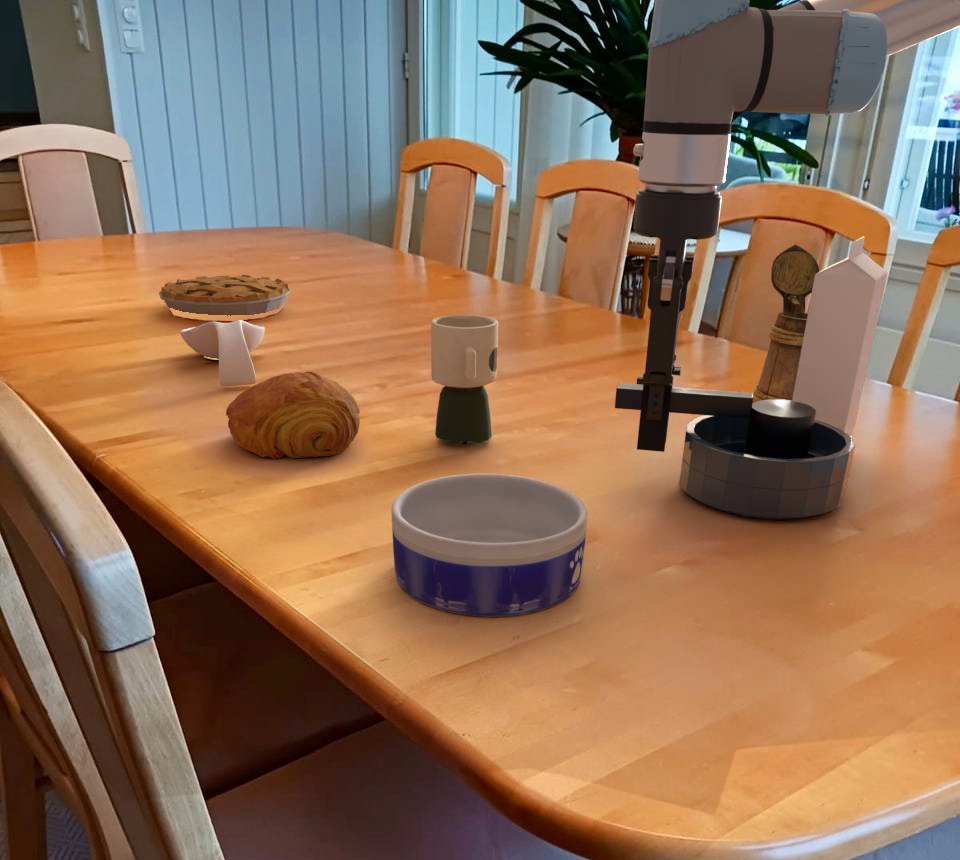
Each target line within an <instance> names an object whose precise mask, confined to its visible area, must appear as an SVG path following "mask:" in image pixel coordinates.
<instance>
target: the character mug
mask: <svg viewBox="0 0 960 860" xmlns="http://www.w3.org/2000/svg"><path fill="white" fill-rule="evenodd" d="M430 332H431V333H430V351H431V352H430V355H431V357H430V360H431V361H430V363H431V366H430V368H431V369H430V371H431V373H430V375H431V380H432V381H433V382H434V383H436V384H438V385H441V386H443V387H442V388H441V390H440V392H439V396H438V405H437V411H436V419H435V420H436V421H435V430H434V431H435V433H434V435H435V438H436V439H439V440H441V441H447V442H457V443H458V442H459V443H462V445H464V446H467V445H468V443H476V444H478V443H479V444H480V443H484V442H488V441H489V440H490V439H491V438H492V435H493V434H492V421H491V420H492V419H491V411H490V410H491V409H490V403H489V395H488V393H487V391H486V386H488V385H489V384H492V383H495V381H496V380H497V376H498V355H499V354H498V351H499V350H498V349H499V347H498V345H499V321H498V319H495V318H493V317H488V316H484V315H477V314H476V315H475V314H448V315H442V316H441V315H440V316H437V317H435V318H432V320H431V323H430Z"/></svg>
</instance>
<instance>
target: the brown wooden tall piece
mask: <svg viewBox="0 0 960 860" xmlns="http://www.w3.org/2000/svg"><path fill="white" fill-rule="evenodd" d="M771 265H772V266H771V275H770V277H771V279H770V280H771V284H772V287H773V288H774V289H775V290H776V291H777V293H778V294H780V295H781V297H782V312H781V311H780V312H778V314H777V317H776V319H775V323H774V324H772V326H771V329H770V330H769V334H768V339H770V342H769V345H768V350H767V354H766V357H765V361H764V363H763V366H762V370H761V374H760V377H759V381H758V384H756V385H755V387H754V389H753V390H754V391H753V403H754V402H757V401H761V400H771V399H777V400H789V401H792V399H793V394H794V388H795V383H796V377H797V372H798V366H799V361H800V355H801V350H802V344H803V339H804V333H805V328H806V322H807V316H808V312H806V297H808V296H809V295H810V294H812V289H813V283H814V278H815V274H816V273H818V272H820V267H819V263H818V262H817V260H816V258H815V257H814V256H813V254H811V252H809V251H807V250H806V249H804V248H803V247H801V246H800V245H797V244H794V245H792V246H789V247H788V248H786V249H784V250H783V251H781V252H780V253H779V254H778V255H777V256H776V257H775V258H774V259H773V261H772V264H771ZM753 403H752V404H753Z"/></svg>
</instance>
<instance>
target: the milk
mask: <svg viewBox="0 0 960 860" xmlns="http://www.w3.org/2000/svg"><path fill="white" fill-rule="evenodd" d="M865 239H866V237H865V236H862V237H860V238H857V239H855V240H853V241H852V242H851V245H850V249H849V255H848V257H846V258H844V259H842V260H839V261H838V262H836V263H833V264H831V265H829V266H827V267H826V268H824V269H821V270H819V272H818V273H816V274H815V278H814V283H813V289H812V293H810V294H811V295H810V301H809V306H808V311H807V313H808V316H807V322H806V328H805V333H804V339H803V344H802V350H801V355H800V361H799V366H798V372H797V377H796V383H795V388H794V394H793V399H792V401H795V402H800V403H804V404H807V405H809V406H811V407H813V408H814V409H815V410H816V415H815V420H817V421H821V422H824V423H827V424H829V425H832V426H834V427H837V428H839V429H841V430H843V431H844V432H846V433H847V434H848V435H850V436H851V437H852V438H853V436H854V431H855V428H856V427H855V426H856V422H857V417H858V413H859V408H860V404H861V399H862V395H863V389H864V386H865V385H864V384H865V380H866V376H867V370H868V367H869V361H870V358H871V353H872V349H873V343H874V339H875V334H876V329H877V325H878V321H879V315H880V311H881V306H882V302H883V298H884V292H885V288H886V283H887V279H888V273H889V272H888V271H887V270H886V269H885V268H883V267H882V266H881V265H879V264H878V263H876V261H874V260H873V259H872V258H871V257H870V256H868V255H867V254H865V253H864V252H863V250H864V244H865Z"/></svg>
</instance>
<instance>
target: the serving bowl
mask: <svg viewBox="0 0 960 860" xmlns="http://www.w3.org/2000/svg"><path fill="white" fill-rule="evenodd" d="M748 425H749V419H748V418H735V417H722V416H709V415H699V416H696V417H695V418H694V419H691V420H690V421H689V422H687V424H686V426H685V427H686V428H685V435H684V442H683V451H682V460H681V467H680V475H679V482H678V484H679V486H680V488H682V491H684V492H685V494H687V495H688V496H690V497H692V498H693V499H695V500H696V501H698V502H700V503H702V504H705V505H707V506H709V507H711V508H713V509H715V510H718V511H722V512H725V513H729V514H733V515H737V516H742V517H747V518H753V519H754V518H755V519H762V520H763V519H764V520H794V519H796V520H797V519H804V518H808V517H813V516H818V515H824V514H826V513H828V512H831V511H833V510H835V509H837V508H839V506H840V505H841V503H842V502H843V501H844V499H845V494H846V490H847V487H848V486H847V485H848V482H849V481H848V480H849V476H850V472H851V467H852V463H853V458H854V453H855V448H856V444H855V440H854V438H853V436H852V437H851V436H850V435H848V434H847V433H846V432H844V431H843V430H841V429H839V428H837V427H834V426H832V425H829V424H827V423H824V422H821V421H817V420H814V426H813V431H812V436H811V441H810V446H809V452H808V457H807V459H780V458H768V457H758V456H753V455H748V454H744V450H745V444H746V437H747V431H748Z"/></svg>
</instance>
